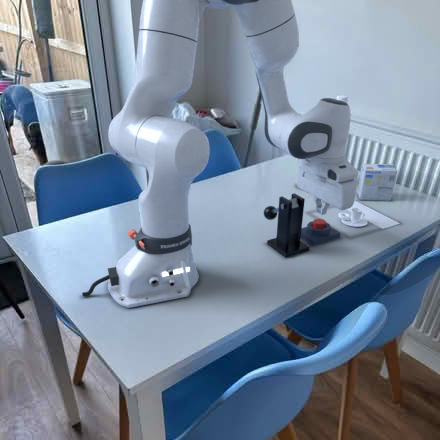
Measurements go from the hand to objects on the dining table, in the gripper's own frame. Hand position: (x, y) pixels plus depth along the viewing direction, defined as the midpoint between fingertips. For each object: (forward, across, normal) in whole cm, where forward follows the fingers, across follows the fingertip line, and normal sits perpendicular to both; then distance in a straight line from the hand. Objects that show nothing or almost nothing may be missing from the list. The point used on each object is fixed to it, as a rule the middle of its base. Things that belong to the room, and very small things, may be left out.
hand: (320, 212), depth 121 cm
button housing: (+7, 0, 0) cm, 7 cm away
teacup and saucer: (+8, -4, +17) cm, 19 cm away
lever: (-1, -3, -12) cm, 12 cm away
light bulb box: (+8, -13, +35) cm, 38 cm away
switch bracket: (+7, +1, -12) cm, 14 cm away
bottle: (+8, -31, +31) cm, 45 cm away
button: (+4, 0, 0) cm, 4 cm away
